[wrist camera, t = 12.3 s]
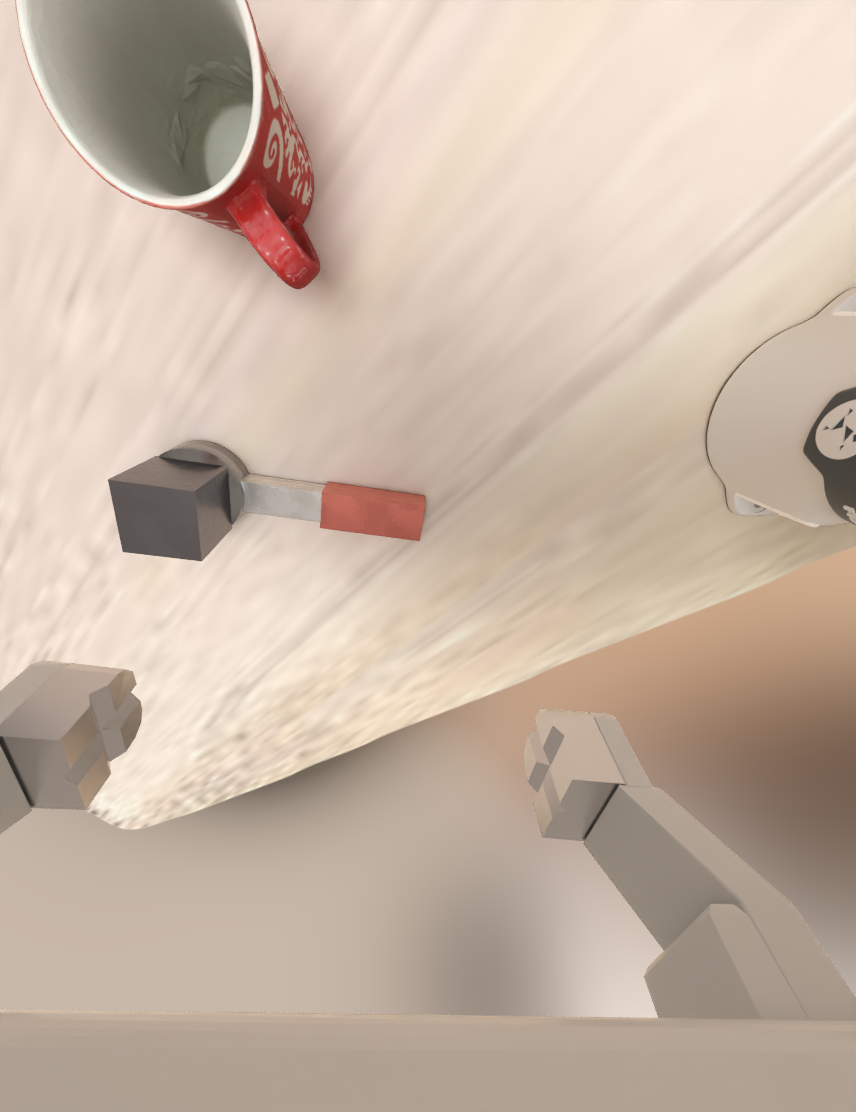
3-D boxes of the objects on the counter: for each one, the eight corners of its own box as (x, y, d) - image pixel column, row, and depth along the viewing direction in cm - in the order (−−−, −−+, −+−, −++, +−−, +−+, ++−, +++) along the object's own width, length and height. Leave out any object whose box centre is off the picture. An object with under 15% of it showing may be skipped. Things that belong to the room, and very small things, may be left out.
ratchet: (428, 474, 38) (431, 504, 31) (415, 547, 42) (416, 587, 35) (159, 434, 36) (102, 457, 29) (170, 515, 39) (121, 552, 32)
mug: (155, 141, 27) (-46, -9, 15) (264, 39, 25) (131, -225, 13) (283, 332, 32) (209, 333, 20) (381, 261, 30) (361, 216, 18)
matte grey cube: (228, 466, 34) (194, 491, 29) (232, 528, 37) (201, 561, 31) (155, 456, 33) (108, 479, 28) (165, 519, 36) (122, 551, 31)
